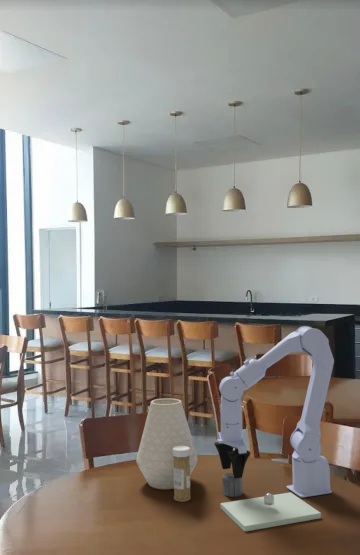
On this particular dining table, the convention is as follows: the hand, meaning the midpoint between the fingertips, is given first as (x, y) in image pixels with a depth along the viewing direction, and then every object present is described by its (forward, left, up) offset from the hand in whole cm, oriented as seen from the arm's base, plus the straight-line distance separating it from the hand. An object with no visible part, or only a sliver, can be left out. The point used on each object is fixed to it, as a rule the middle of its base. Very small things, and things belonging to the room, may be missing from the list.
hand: (232, 473), depth 145 cm
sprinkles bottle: (+14, -1, -6) cm, 15 cm away
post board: (-3, +15, -5) cm, 16 cm away
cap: (0, 0, -5) cm, 5 cm away
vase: (+14, -14, -6) cm, 21 cm away
